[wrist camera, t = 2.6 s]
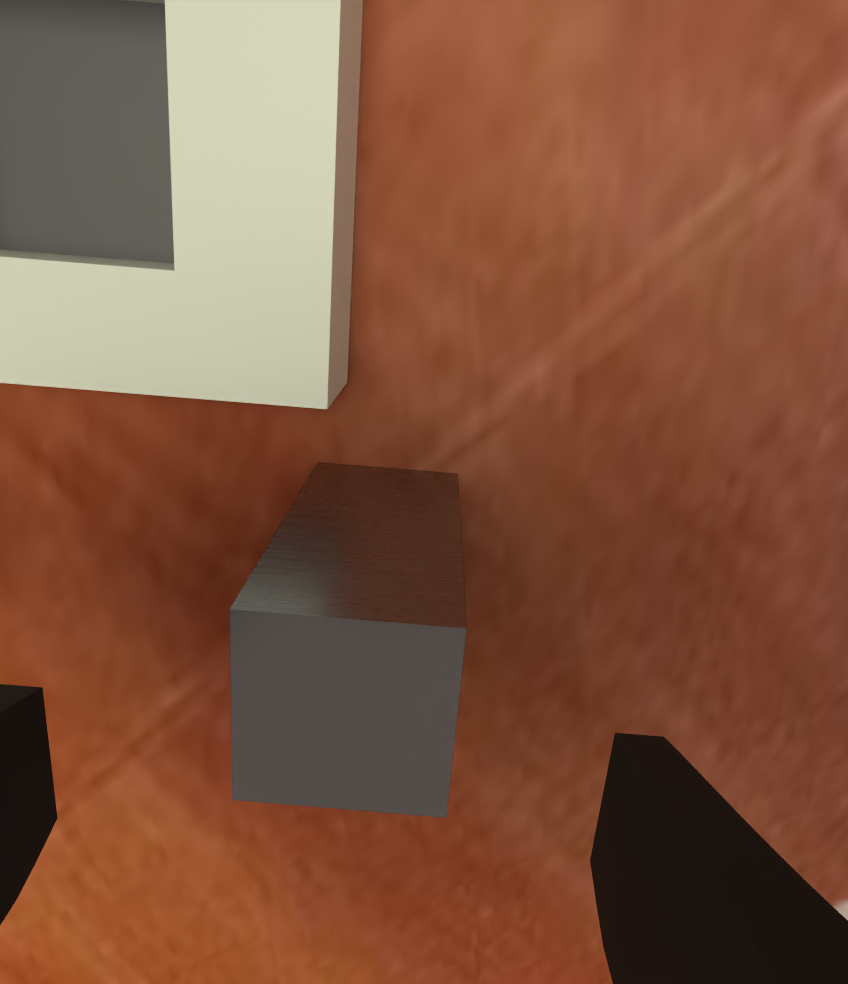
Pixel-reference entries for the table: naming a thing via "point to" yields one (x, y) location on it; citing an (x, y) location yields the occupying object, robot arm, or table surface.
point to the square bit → (352, 646)
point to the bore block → (179, 196)
